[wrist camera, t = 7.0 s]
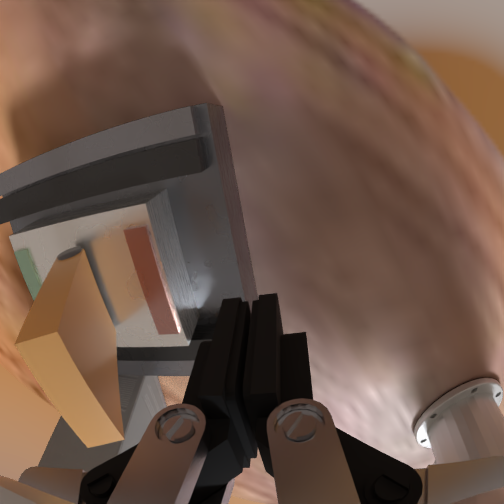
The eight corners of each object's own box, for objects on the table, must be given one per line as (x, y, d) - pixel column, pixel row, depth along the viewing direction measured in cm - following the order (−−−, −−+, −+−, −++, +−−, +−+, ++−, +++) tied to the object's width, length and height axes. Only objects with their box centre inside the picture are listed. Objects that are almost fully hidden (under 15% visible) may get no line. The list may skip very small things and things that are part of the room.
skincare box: (97, 345, 28) (20, 469, 14) (162, 355, 28) (101, 504, 13) (117, 400, 32) (66, 512, 17) (175, 410, 31) (137, 537, 17)
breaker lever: (116, 327, 17) (125, 441, 10) (91, 334, 16) (89, 449, 9) (84, 243, 15) (56, 328, 8) (57, 252, 15) (12, 341, 7)
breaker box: (261, 317, 25) (254, 394, 18) (94, 327, 27) (52, 385, 20) (222, 106, 19) (190, 99, 12) (37, 162, 21) (-34, 187, 14)
